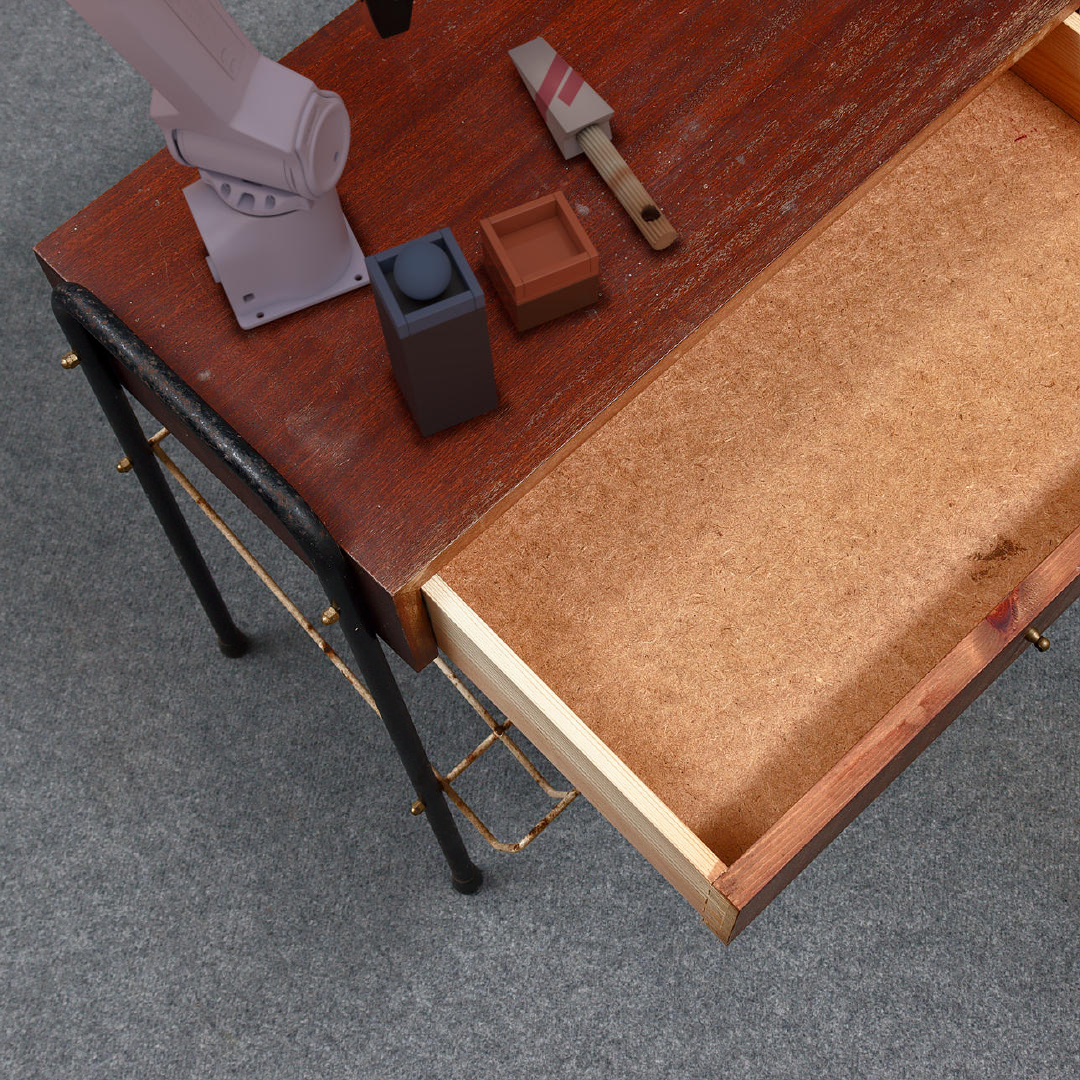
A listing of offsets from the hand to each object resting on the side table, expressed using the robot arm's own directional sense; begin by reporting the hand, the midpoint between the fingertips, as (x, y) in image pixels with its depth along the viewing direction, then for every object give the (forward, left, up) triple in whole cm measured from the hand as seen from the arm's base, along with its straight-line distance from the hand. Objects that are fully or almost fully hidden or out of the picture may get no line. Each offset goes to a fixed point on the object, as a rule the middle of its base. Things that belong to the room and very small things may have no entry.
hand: (385, 14), depth 88 cm
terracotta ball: (0, 0, 0) cm, 0 cm away
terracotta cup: (+2, -21, -6) cm, 22 cm away
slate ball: (-7, -26, +6) cm, 28 cm away
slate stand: (-7, -26, -6) cm, 28 cm away
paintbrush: (+10, -12, -6) cm, 17 cm away
